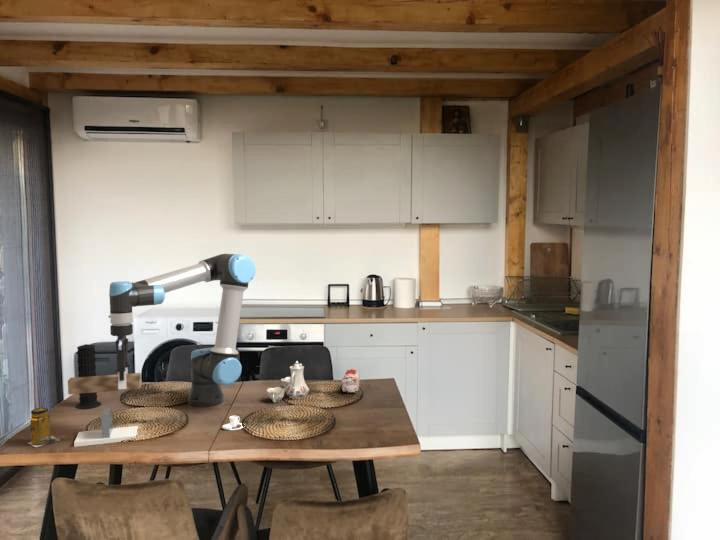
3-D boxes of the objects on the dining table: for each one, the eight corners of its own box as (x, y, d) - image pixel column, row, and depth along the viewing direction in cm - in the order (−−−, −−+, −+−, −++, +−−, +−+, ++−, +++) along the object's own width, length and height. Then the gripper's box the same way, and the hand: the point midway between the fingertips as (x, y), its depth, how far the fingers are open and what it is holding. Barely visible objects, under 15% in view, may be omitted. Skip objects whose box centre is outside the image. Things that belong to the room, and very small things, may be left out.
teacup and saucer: (224, 432, 215) (223, 422, 214) (218, 426, 222) (218, 415, 221) (247, 429, 219) (247, 418, 218) (241, 422, 226) (241, 412, 225)
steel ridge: (112, 429, 214) (111, 408, 213) (109, 437, 205) (108, 415, 204) (104, 430, 213) (104, 408, 212) (101, 438, 204) (101, 416, 204)
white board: (138, 429, 217) (137, 425, 217) (136, 440, 207) (136, 435, 207) (79, 435, 211) (79, 431, 211) (74, 446, 201) (74, 442, 201)
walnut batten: (141, 385, 216) (140, 372, 216) (139, 388, 212) (139, 375, 212) (71, 391, 211) (70, 377, 211) (68, 394, 207) (67, 380, 207)
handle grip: (70, 408, 243) (91, 409, 241) (67, 346, 241) (88, 347, 239) (85, 401, 253) (106, 402, 251) (83, 341, 251) (103, 342, 249)
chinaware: (282, 390, 274) (278, 355, 273) (317, 388, 272) (313, 353, 271) (264, 408, 247) (259, 370, 246) (302, 406, 244) (297, 367, 243)
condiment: (27, 443, 205) (25, 409, 204) (52, 436, 211) (50, 404, 210) (35, 448, 200) (33, 413, 199) (60, 441, 206) (59, 407, 206)
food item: (358, 395, 261) (358, 373, 260) (341, 394, 261) (341, 373, 260) (360, 386, 274) (360, 366, 274) (343, 386, 275) (343, 365, 274)
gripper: (113, 320, 219) (115, 382, 220) (107, 328, 202) (108, 394, 204) (134, 320, 221) (136, 380, 222) (130, 327, 204) (131, 392, 206)
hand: (123, 387), depth 213 cm, fingers closed on walnut batten, 4 cm apart
